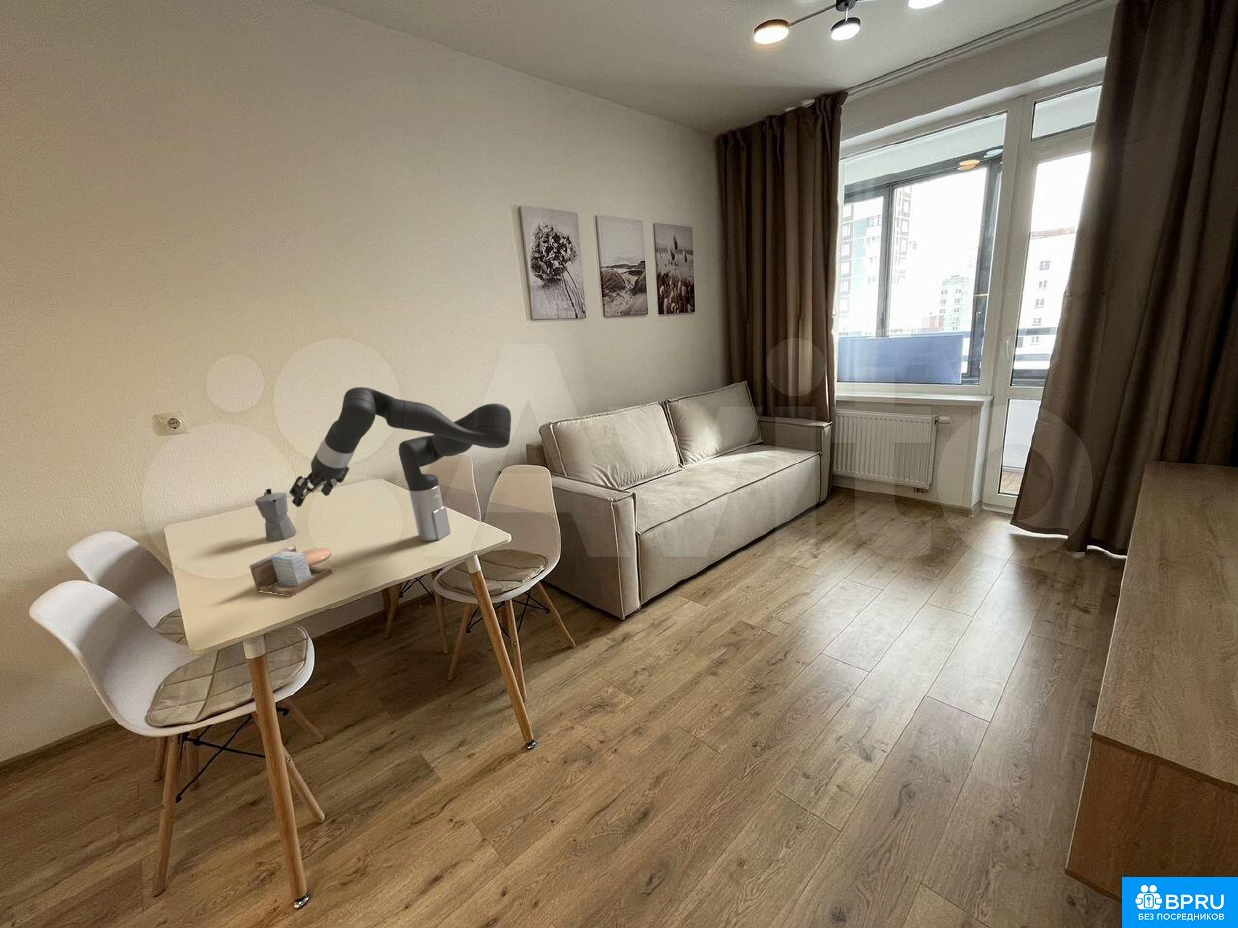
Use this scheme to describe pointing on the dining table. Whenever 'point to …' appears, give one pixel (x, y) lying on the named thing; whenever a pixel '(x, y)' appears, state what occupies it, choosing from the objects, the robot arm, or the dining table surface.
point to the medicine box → (291, 568)
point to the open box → (267, 576)
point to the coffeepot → (275, 516)
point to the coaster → (316, 555)
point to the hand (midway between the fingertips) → (310, 498)
